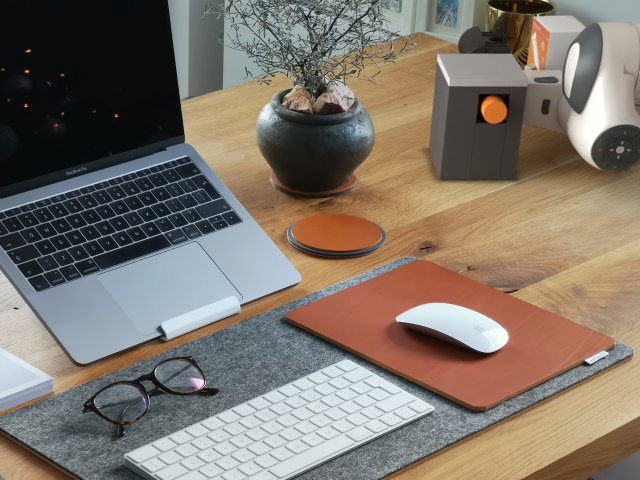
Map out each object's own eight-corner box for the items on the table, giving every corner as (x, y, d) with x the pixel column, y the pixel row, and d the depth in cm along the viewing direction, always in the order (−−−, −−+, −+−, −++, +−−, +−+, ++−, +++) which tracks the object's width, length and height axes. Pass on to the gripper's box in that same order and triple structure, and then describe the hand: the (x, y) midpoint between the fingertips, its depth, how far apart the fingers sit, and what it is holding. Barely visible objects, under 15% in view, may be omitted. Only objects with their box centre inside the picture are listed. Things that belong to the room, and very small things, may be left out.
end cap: (455, 65, 187) (459, 25, 184) (498, 66, 187) (503, 26, 183) (461, 85, 179) (466, 44, 175) (506, 86, 178) (511, 45, 175)
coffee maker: (499, 150, 156) (512, 53, 149) (514, 180, 148) (528, 79, 140) (428, 150, 156) (437, 53, 149) (439, 180, 148) (449, 79, 140)
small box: (521, 97, 174) (532, 15, 167) (560, 96, 174) (573, 14, 168) (537, 117, 167) (549, 31, 160) (578, 115, 168) (592, 30, 161)
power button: (501, 116, 144) (504, 94, 143) (505, 123, 142) (508, 101, 141) (478, 116, 144) (481, 94, 143) (482, 123, 142) (484, 101, 141)
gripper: (666, 81, 151) (635, 49, 163) (515, 81, 151) (495, 49, 163) (657, 125, 154) (627, 90, 166) (510, 125, 154) (490, 90, 166)
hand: (561, 70), depth 164 cm, fingers open, 8 cm apart
